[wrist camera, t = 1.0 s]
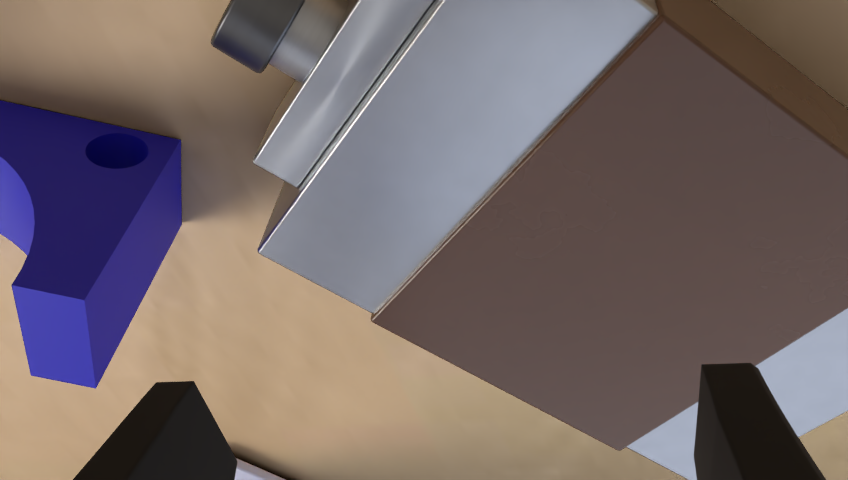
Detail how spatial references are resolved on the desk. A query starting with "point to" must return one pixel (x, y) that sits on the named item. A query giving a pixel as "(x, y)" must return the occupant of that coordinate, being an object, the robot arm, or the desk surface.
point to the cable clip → (83, 232)
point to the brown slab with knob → (565, 198)
